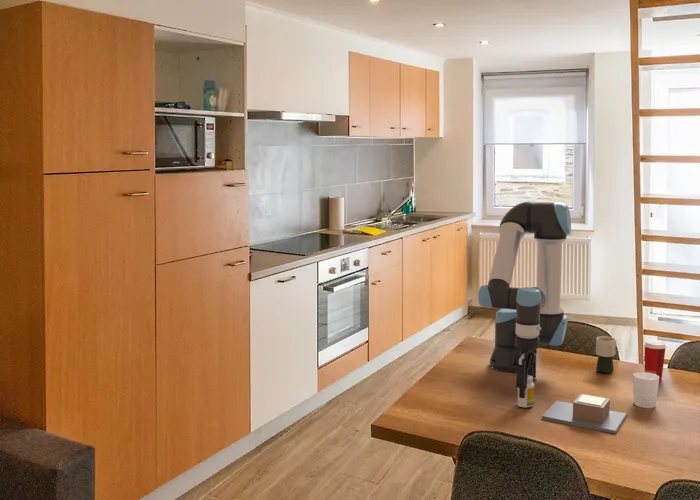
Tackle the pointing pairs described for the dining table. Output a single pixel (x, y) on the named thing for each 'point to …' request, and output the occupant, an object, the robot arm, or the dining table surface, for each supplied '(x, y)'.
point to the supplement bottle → (529, 391)
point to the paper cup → (654, 357)
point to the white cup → (645, 389)
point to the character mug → (605, 353)
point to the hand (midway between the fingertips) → (525, 403)
